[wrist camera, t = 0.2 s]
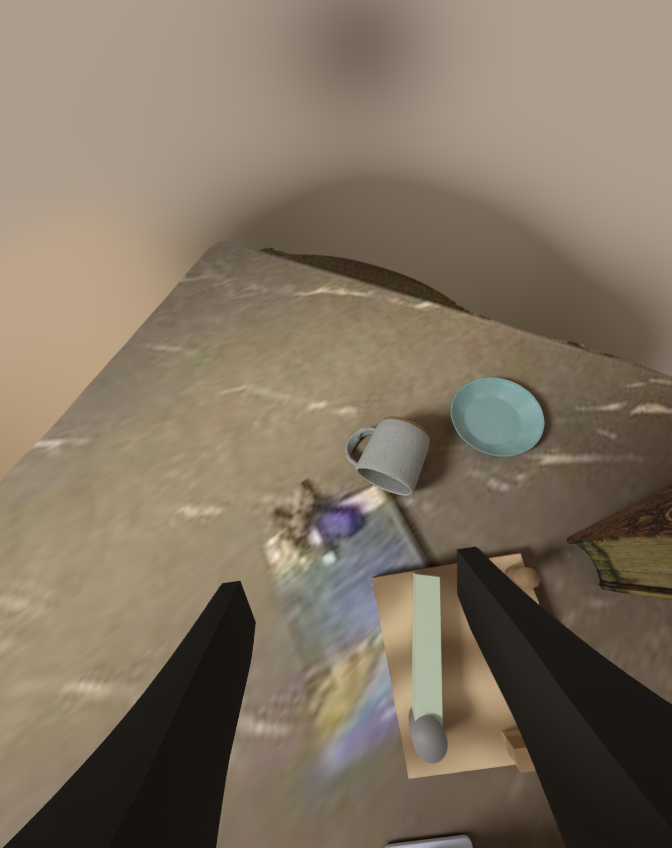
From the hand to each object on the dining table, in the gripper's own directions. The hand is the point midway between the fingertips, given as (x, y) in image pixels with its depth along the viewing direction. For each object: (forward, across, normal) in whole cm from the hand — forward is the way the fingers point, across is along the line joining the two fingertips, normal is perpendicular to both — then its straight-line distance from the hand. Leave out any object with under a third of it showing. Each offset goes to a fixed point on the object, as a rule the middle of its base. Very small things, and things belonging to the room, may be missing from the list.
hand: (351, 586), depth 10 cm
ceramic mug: (+30, -5, +13) cm, 34 cm away
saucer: (+32, -21, +11) cm, 40 cm away
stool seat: (+14, -10, +29) cm, 33 cm away
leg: (+13, -5, +26) cm, 30 cm away
